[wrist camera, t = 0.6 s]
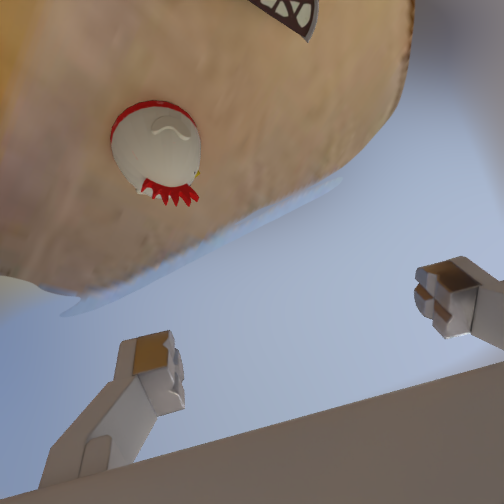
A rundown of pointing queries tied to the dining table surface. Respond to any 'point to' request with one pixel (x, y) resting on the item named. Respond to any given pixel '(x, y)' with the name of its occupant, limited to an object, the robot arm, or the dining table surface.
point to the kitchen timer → (158, 150)
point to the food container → (293, 14)
